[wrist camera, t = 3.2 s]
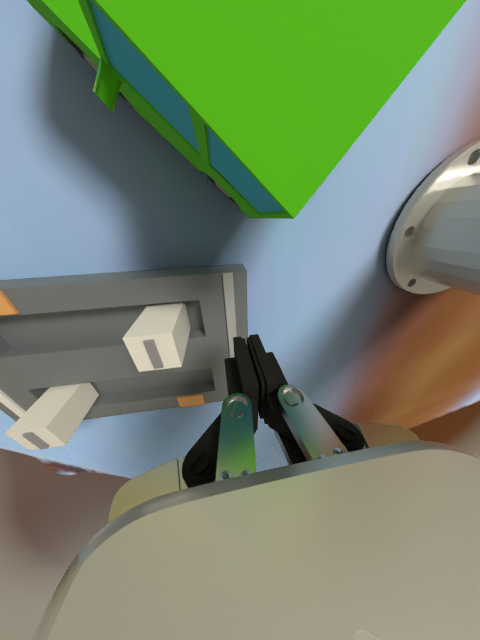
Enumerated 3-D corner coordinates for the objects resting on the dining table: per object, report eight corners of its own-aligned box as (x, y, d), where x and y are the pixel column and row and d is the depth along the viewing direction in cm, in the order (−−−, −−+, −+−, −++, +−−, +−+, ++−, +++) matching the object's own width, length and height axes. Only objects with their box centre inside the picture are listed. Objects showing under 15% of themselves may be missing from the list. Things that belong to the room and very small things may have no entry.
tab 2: (184, 299, 15) (170, 335, 11) (190, 327, 17) (181, 368, 12) (149, 302, 15) (120, 340, 10) (159, 330, 17) (137, 373, 12)
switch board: (242, 263, 16) (246, 271, 13) (245, 381, 24) (249, 398, 22) (-86, 286, 13) (-149, 300, 11) (43, 406, 22) (22, 429, 19)
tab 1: (86, 377, 18) (43, 430, 14) (99, 394, 20) (64, 447, 15) (56, 380, 18) (2, 436, 14) (71, 398, 20) (27, 452, 15)
